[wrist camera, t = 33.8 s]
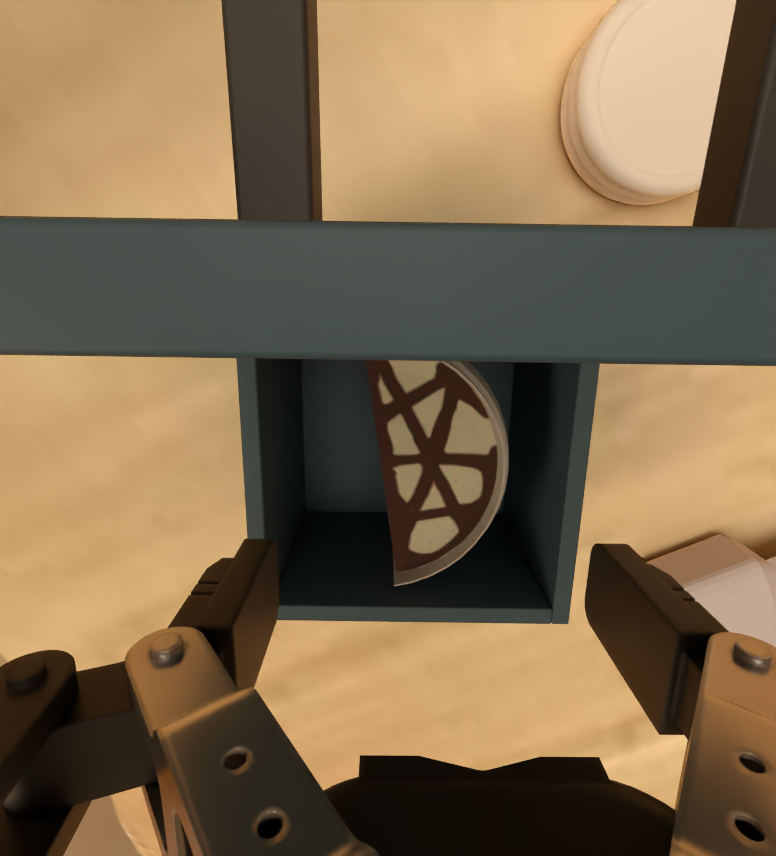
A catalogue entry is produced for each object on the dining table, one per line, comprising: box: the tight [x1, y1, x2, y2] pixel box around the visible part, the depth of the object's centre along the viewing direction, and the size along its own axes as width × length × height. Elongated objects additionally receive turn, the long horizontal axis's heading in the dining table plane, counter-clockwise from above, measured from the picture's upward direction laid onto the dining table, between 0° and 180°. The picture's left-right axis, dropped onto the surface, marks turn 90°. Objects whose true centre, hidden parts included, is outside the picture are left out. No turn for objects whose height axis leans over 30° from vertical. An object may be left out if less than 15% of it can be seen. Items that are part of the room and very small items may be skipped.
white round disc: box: [560, 0, 736, 205], centre depth 26 cm, size 10×10×4 cm
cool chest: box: [237, 358, 600, 624], centre depth 26 cm, size 16×15×11 cm
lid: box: [0, 0, 776, 366], centre depth 10 cm, size 16×15×6 cm
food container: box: [365, 360, 509, 586], centre depth 26 cm, size 12×6×10 cm, turn 8°
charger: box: [646, 534, 776, 647], centre depth 33 cm, size 5×9×15 cm
